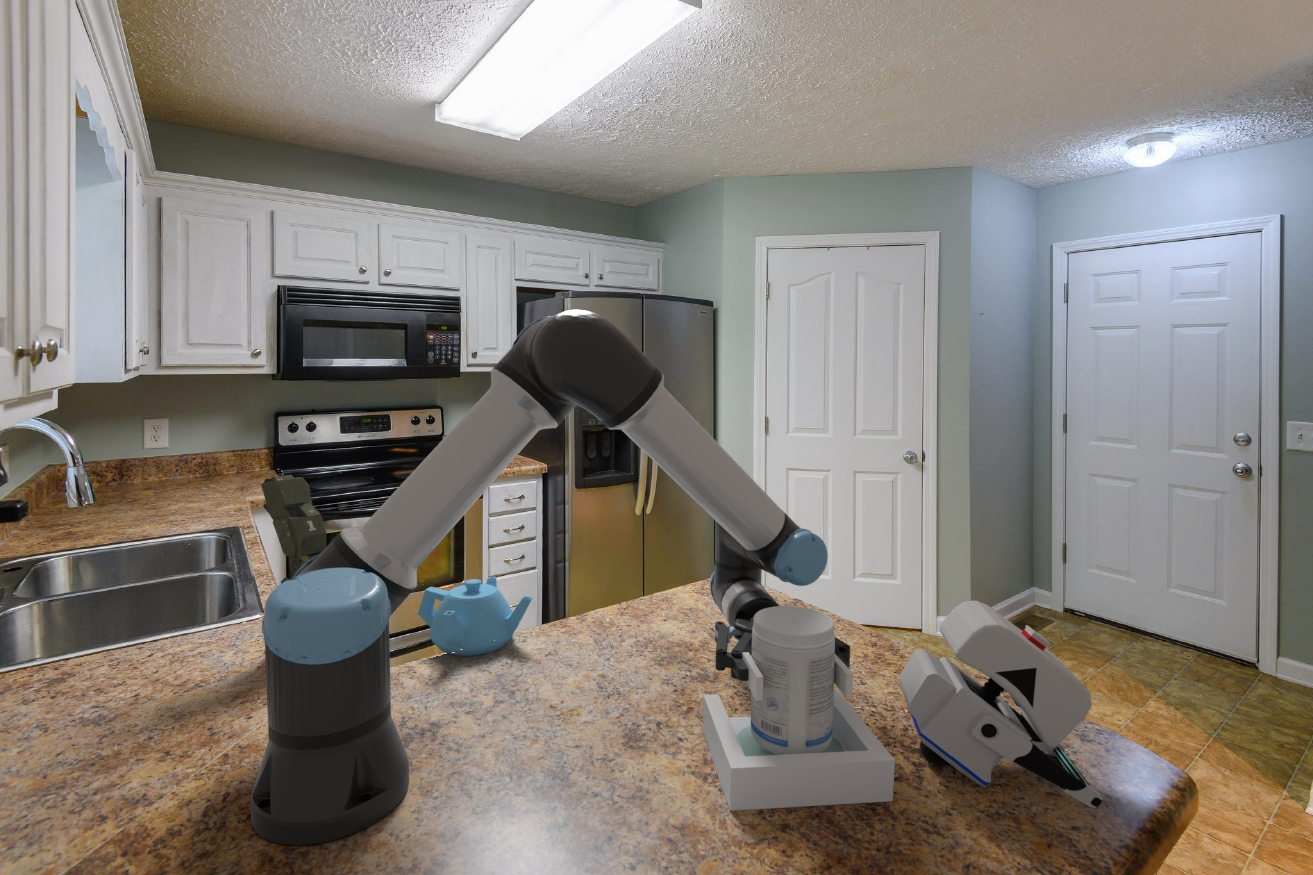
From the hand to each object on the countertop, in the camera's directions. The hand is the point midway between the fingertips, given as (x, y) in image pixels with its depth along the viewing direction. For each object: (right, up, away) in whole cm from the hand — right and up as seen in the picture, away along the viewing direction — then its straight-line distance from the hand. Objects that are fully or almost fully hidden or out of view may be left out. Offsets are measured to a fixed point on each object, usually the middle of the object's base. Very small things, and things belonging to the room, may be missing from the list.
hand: (804, 687), depth 72 cm
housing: (-1, -11, +5) cm, 12 cm away
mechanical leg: (-75, -7, +35) cm, 84 cm away
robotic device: (+23, -12, +5) cm, 26 cm away
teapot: (-48, -8, +39) cm, 62 cm away
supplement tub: (-1, -8, +5) cm, 10 cm away
